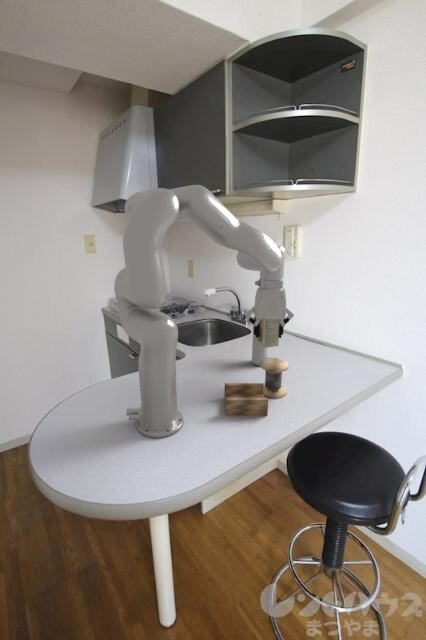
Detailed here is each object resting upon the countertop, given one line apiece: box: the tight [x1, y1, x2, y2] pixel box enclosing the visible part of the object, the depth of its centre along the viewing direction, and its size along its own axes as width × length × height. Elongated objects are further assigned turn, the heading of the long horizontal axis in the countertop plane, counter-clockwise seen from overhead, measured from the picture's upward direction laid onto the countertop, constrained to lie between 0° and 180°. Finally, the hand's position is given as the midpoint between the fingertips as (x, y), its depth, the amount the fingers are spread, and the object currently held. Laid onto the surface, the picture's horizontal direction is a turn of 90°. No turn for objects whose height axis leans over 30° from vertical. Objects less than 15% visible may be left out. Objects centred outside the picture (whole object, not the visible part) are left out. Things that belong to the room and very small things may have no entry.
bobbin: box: [260, 357, 290, 399], centre depth 103 cm, size 9×9×10 cm
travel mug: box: [251, 315, 270, 368], centre depth 122 cm, size 6×7×20 cm
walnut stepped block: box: [224, 382, 269, 417], centre depth 95 cm, size 12×10×5 cm
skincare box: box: [257, 314, 280, 348], centre depth 106 cm, size 6×4×12 cm
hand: (268, 336), depth 107 cm, fingers closed on skincare box, 7 cm apart
